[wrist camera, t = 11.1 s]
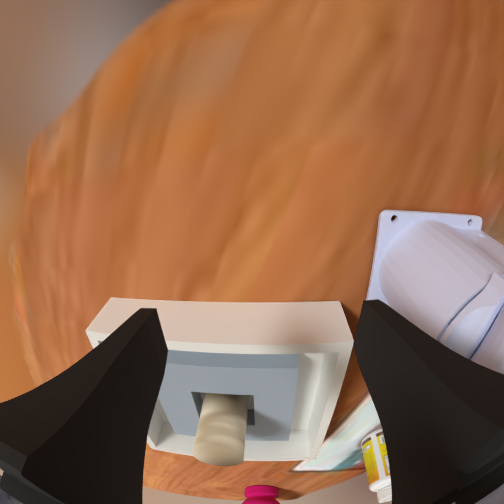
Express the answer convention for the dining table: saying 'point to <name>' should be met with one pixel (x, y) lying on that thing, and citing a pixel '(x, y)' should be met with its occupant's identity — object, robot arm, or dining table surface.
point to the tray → (252, 342)
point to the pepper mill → (261, 495)
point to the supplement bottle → (377, 465)
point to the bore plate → (231, 389)
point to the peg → (222, 429)
